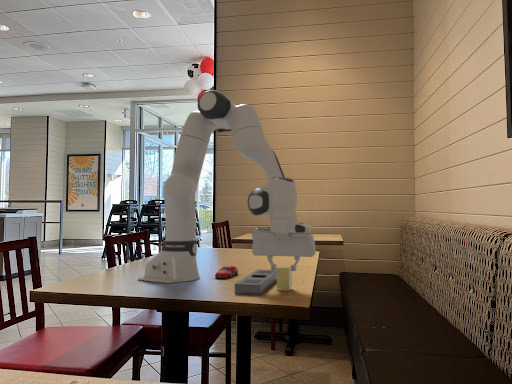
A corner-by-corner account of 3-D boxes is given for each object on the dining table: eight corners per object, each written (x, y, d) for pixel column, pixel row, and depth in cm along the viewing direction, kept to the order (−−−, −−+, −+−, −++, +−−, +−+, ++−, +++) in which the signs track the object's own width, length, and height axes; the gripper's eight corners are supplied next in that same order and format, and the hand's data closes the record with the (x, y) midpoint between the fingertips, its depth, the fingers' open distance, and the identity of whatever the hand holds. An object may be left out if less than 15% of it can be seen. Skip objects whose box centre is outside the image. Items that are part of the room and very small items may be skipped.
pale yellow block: (276, 290, 118) (276, 267, 119) (279, 288, 122) (279, 266, 123) (289, 290, 117) (288, 268, 118) (291, 288, 121) (291, 266, 121)
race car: (226, 280, 137) (226, 269, 137) (212, 280, 139) (212, 269, 139) (240, 274, 149) (240, 264, 149) (227, 274, 151) (227, 264, 151)
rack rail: (234, 293, 114) (234, 283, 114) (258, 277, 141) (257, 269, 141) (260, 294, 112) (260, 284, 112) (278, 278, 139) (278, 270, 139)
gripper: (249, 227, 120) (249, 270, 119) (313, 227, 115) (314, 273, 114) (254, 226, 126) (254, 267, 125) (315, 226, 121) (316, 269, 120)
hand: (283, 270), depth 120 cm, fingers open, 5 cm apart
